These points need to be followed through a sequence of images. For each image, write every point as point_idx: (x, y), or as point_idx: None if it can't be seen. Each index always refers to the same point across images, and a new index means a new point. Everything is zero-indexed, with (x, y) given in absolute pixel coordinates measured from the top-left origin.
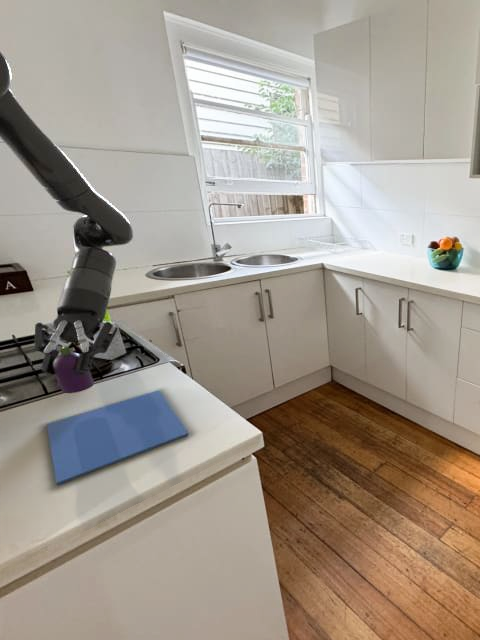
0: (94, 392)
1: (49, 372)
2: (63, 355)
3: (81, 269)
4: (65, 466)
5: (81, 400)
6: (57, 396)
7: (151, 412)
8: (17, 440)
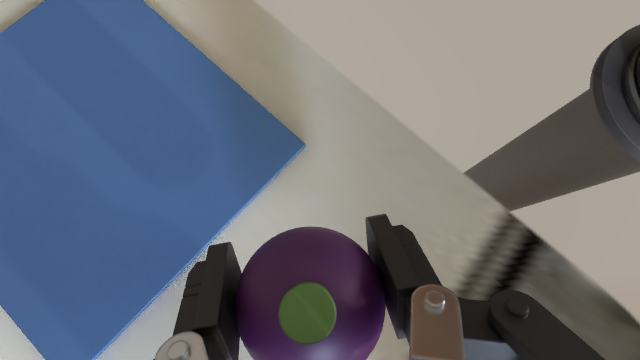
0: None
1: (367, 231)
2: (304, 281)
3: None
4: (114, 1)
5: None
6: None
7: (19, 228)
8: (324, 83)
